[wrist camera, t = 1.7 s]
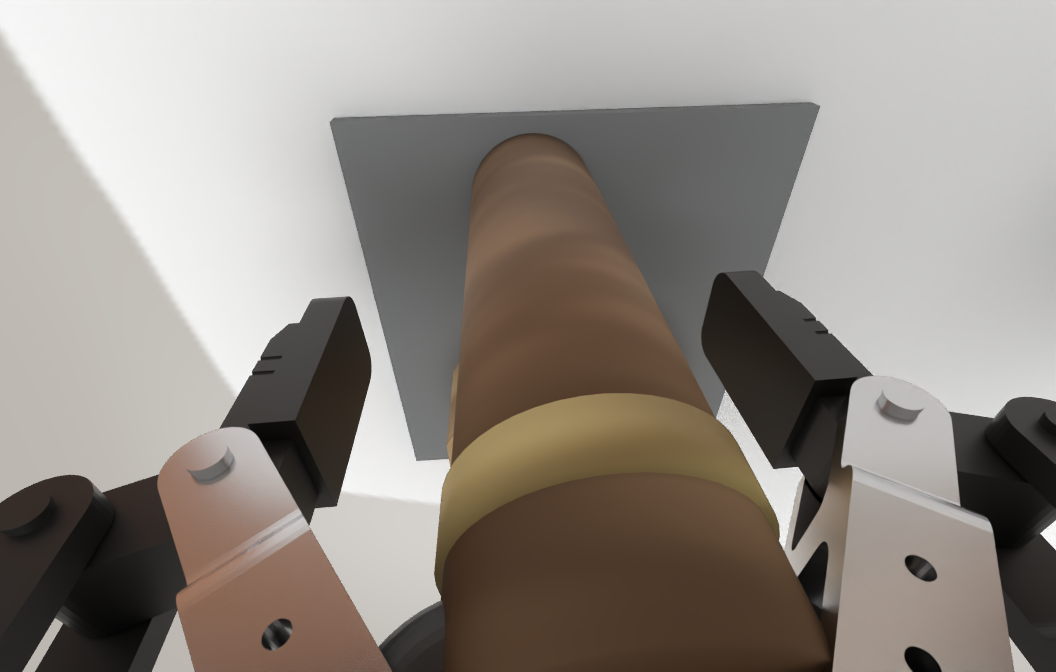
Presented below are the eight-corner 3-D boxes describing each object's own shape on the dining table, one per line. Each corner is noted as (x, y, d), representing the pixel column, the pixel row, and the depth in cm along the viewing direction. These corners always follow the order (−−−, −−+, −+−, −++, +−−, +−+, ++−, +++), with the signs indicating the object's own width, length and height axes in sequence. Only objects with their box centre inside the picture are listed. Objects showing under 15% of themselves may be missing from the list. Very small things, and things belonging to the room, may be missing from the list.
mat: (811, 102, 15) (820, 106, 15) (704, 434, 25) (707, 442, 24) (334, 117, 14) (329, 122, 14) (417, 452, 24) (416, 460, 24)
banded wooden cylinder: (599, 127, 14) (956, 617, 3) (590, 249, 17) (778, 756, 6) (462, 131, 14) (374, 666, 3) (474, 255, 17) (448, 787, 6)
